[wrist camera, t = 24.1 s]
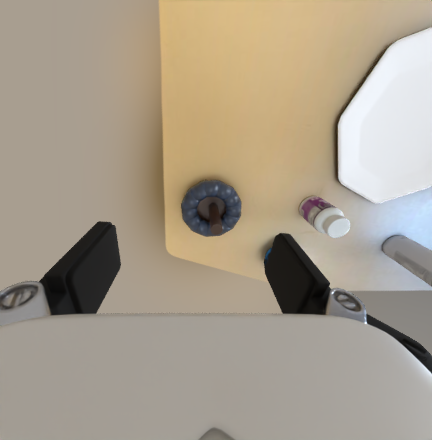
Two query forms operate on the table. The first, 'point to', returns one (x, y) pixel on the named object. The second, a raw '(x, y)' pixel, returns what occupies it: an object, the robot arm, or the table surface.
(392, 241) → the energy drink can
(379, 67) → the plate
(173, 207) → the table surface
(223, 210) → the stand
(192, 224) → the ring
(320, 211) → the pill bottle
